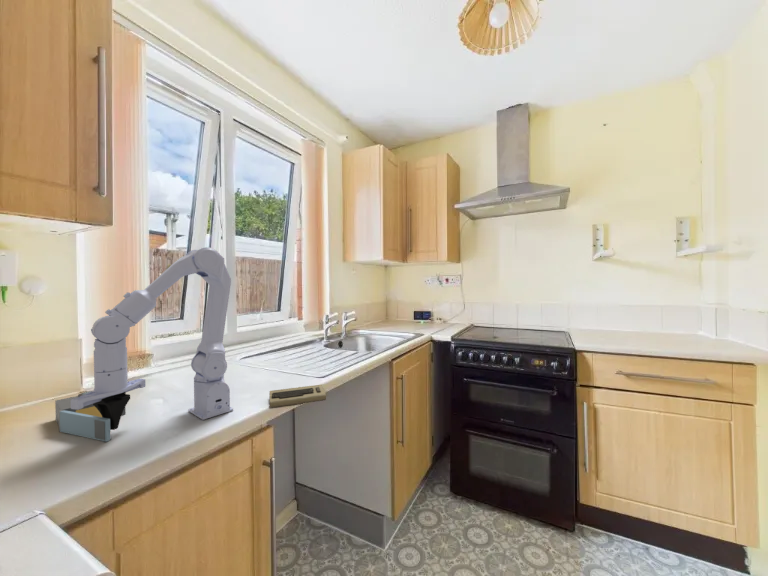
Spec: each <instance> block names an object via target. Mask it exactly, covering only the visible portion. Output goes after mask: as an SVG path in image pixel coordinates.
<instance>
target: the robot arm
mask: <svg viewBox="0 0 768 576" xmlns="http://www.w3.org/2000/svg"><path fill="white" fill-rule="evenodd" d="M227 269H228V268H227V266H226V264H225V258H224V257H223V256H222V254H220V252H218V251H217V250H216V249H214V248H213V247H209V246H207V247H201V248H199V249H193V250H190V251H188V252H187V253H186V254H185V255H183V256H181V257H179V258H178V259H177V260H176V261H174V262H173V263H172V264H171V265H170V266H169V267H167V268H166V269H165V270H164V271H163V272H162V273H160V275H159V276H158V277H156V278H155V280H153V281H152V282H151V283H150V284H149V285H148V286H146V288H145V289H135V290H133V291H132V292H131V293H130V292H126V293H125V294H124V295H123V296H122V297H124V298H123V299H122V300H121V301H120V302H119V303H118V304H116V305H115V306H113V308H112V309H109V308H108V309H107V310H105V311H104V313H105V314H106V315H105V316H102V317H100V318H98V319H97V320H95V322H93V325H92V328H91V329H90V332H91V334H92V335H93V337H94V342H93V347H94V350H93V378H94V379H93V381H94V382H93V383H94V384H93V385H94V386H93V390H90V391H91V392H89V391H88V392H89V393H87V394H85V395H82V396H80V397H77V398H75V399H72V400H71V409H76V410H79V409H82V408H83V407H84V406H87V405H90V404H93V405H94V406H95V407H96V408H97V409H98V411H99V412H100V413H101V415H102V417H103V418H109V419H110V431H115V430H117V429H119V426H120V425H119V424H120V421H121V418H122V416H123V415H122V413H123V410H124V408H125V409H126V406H127V405H128V404H129V401H130V400H131V395H130V394H129V393H128V392H131V391H135V390H136V389H142V388H146V379H145V378H137V379H133V380H129V379H128V377H129V376H128V374H129V373H128V347H127V343H126V342H127V338H128V336H129V334H130V329H131V328H132V327H135V326H136V325H137V324H138V323H140V322H141V320H143V319H144V318H145V317H146V316H147V315H148V314H149V313H151V312H152V311H153V309H155V308H156V307H157V298H158V297H160V296H161V295H162V294H163V293H165V292H166V291H167V290H169V289H170V288H171V287H172V286H174V284H176V282H178V281H179V280H181V279H182V278H183V277H186V276H189V275H194V274H196V275H198V276H199V277H201V278H202V279H203V281H205V282H206V283H207V284H208V286H209V287H208V292H207V293H208V294H207V298H206V299H207V301H206V306H205V314H204V319H203V327H202V334H201V341H200V342H199V345H198V346H197V348H196V353H195V354H194V356H193V357H192V359H191V362H190V363H191V364H190V366H191V369H192V371H193V372H194V373H195V375H194V377H193V397H194V398H193V401H194V402H193V403H194V404H193V407H191V408H189V409H188V412H189V413H191V414H192V415H194V416H195V417H197V418H199V419H200V420H208V419H210V418H213V417H216V416H220V415H222V414H226V413H229V412H232V411H234V408H233V407H231V402H230V401H231V400H230V399H231V397H230V395H231V394H230V393H231V392H230V387H229V385H228V384H227V383H226V382H225V373H227V368H228V363H227V360H226V350H225V346H224V344H223V342H224V341H223V340H224V334H225V326H226V321H227V320H226V319H227V312H228V305H229V299H230V292H231V285H232V278H231V276H230V274H229V272H228V270H227ZM128 380H129V381H128ZM121 415H122V416H121Z"/></svg>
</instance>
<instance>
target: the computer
mask: <svg viewBox="0 0 768 576" xmlns="http://www.w3.org/2000/svg"><path fill="white" fill-rule="evenodd" d="M268 399H269V408H270V409H271V408H278V407H279V408H280V407H286V406H287V407H288V406H292V405H293V406H294V405H301V404H309V403H315V402H316V403H317V402H322V401H323V402H324V401H327V394H326V392H325V389H324V386H323V384H314V385H305V386H298V387H290V388H283V389H274V390H270V391H269V398H268Z"/></svg>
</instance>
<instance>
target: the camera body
mask: <svg viewBox="0 0 768 576" xmlns="http://www.w3.org/2000/svg"><path fill="white" fill-rule="evenodd" d="M91 391H92V390H89V391H85V392H81V393H78V395H76V396H72V397H71V396H70V397H65V398H61V399H56V400H55V402H54V406H55V407H54V408H55V422H56V423H57V425H58V426H59V411H60V410H65V411H71V412H76V413H82V414H87V415H93V416H98V417H102V415H101V413H100V412H99V411H98V409H97V408H96V407H95V406H94V405H93V404H90V405H87V406H84V407H83V408H82V409H79V410H76V409H71V400H72V399H75V398H77V397H80V396H82V395H85V394H87V393H89V392H91ZM125 415H126V407H125V408H124V410H123V413H122V415H121V417H122V416H125Z"/></svg>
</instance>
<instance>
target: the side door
mask: <svg viewBox="0 0 768 576" xmlns="http://www.w3.org/2000/svg"><path fill="white" fill-rule="evenodd" d="M58 432H59V433H60V432H61V433H64V434H65V433H66V434H69V435H75V436H80V437H84V438H88V439H94V440H98V441H101V442H109V441H111V430H110V419H109V418H103V417H98V416H93V415H87V414H82V413H76V412H71V411H65V410H60V411H59V425H58Z"/></svg>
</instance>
